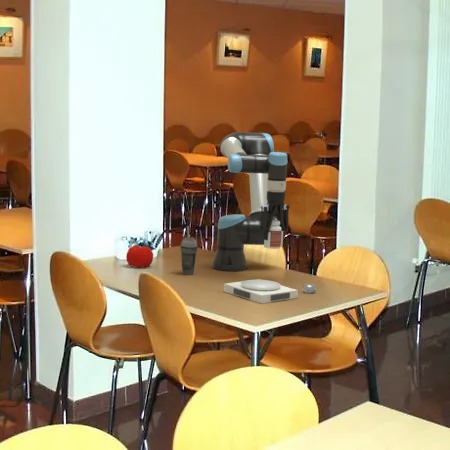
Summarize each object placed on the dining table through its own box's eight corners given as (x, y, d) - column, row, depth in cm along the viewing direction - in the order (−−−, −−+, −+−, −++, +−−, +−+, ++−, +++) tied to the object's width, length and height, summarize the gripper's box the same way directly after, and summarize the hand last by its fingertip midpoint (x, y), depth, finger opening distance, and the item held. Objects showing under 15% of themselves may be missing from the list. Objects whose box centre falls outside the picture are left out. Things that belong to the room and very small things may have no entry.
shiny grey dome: (299, 292, 321) (300, 284, 321) (309, 290, 324) (309, 283, 324) (308, 294, 317) (309, 286, 317) (318, 293, 320) (318, 285, 320)
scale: (222, 291, 315) (223, 280, 315) (259, 286, 327) (259, 276, 326) (261, 303, 298) (261, 292, 297) (298, 298, 310) (298, 287, 309)
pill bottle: (283, 248, 335) (285, 221, 333) (271, 249, 332) (273, 222, 330) (274, 245, 340) (275, 219, 338) (262, 246, 337) (263, 220, 335)
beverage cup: (186, 276, 340) (188, 228, 338) (175, 273, 346) (177, 226, 343) (200, 274, 345) (202, 227, 342) (189, 271, 351) (191, 224, 348)
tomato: (157, 267, 355) (158, 247, 354) (132, 270, 349) (133, 249, 347) (145, 263, 364) (146, 243, 363) (121, 265, 357) (121, 244, 356)
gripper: (264, 192, 323) (261, 250, 327) (299, 191, 335) (296, 246, 339) (252, 190, 329) (249, 247, 333) (287, 188, 341) (284, 243, 345)
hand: (273, 246), depth 336 cm, fingers closed on pill bottle, 6 cm apart
